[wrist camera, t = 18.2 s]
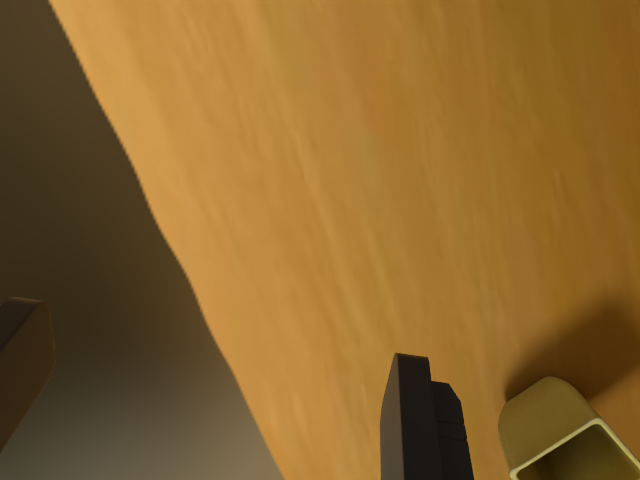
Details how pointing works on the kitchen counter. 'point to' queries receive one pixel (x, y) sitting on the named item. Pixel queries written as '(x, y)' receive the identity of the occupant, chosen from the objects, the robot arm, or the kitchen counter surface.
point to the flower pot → (561, 437)
